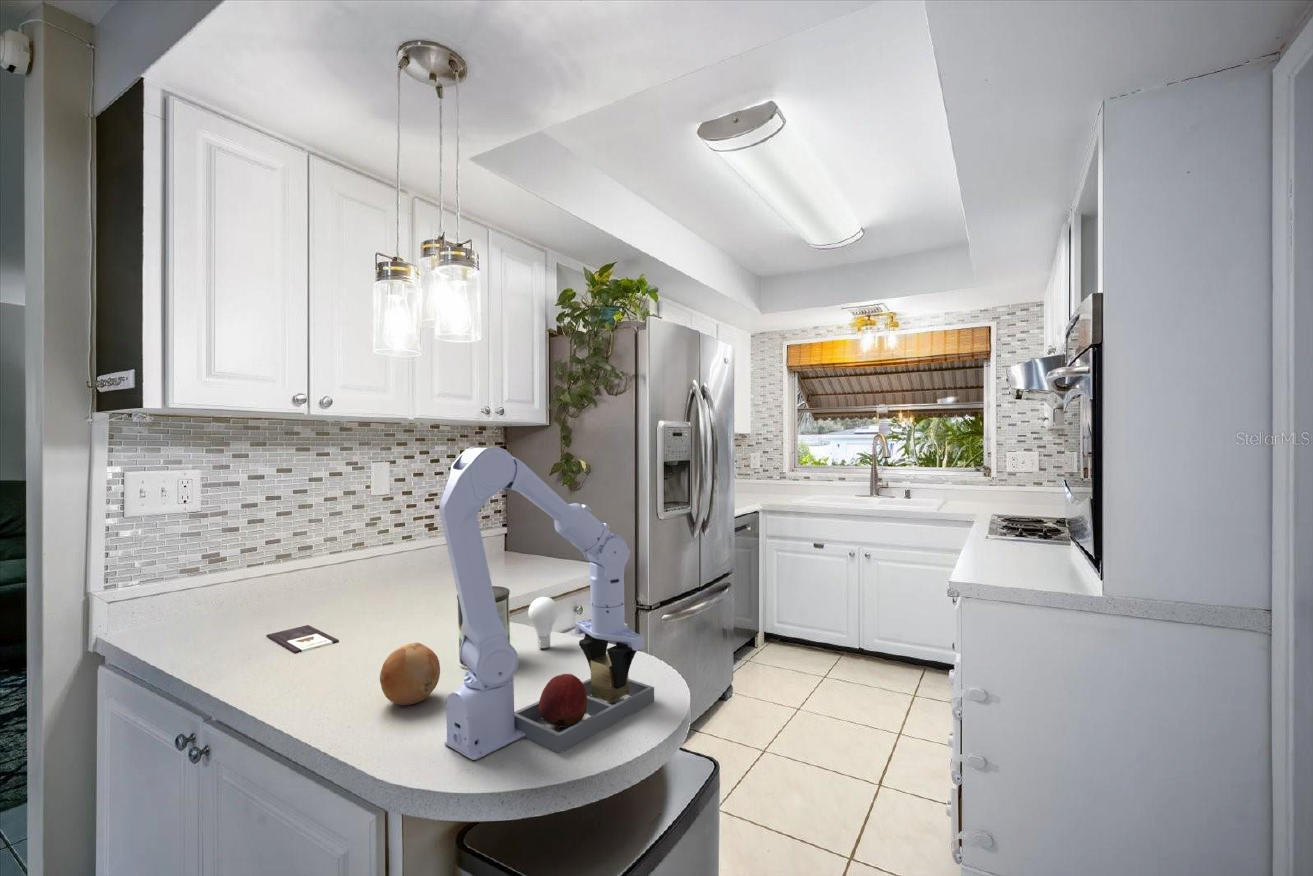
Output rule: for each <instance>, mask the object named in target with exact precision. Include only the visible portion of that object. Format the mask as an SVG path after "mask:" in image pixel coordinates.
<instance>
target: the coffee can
mask: <svg viewBox="0 0 1313 876" xmlns="http://www.w3.org/2000/svg"><path fill="white" fill-rule="evenodd" d="M492 588H493V593H494V597H495V602H496V607H497V612H498V616H499V618H500V620H501V622H502V624H503V626H504V628H505V631H506V633H507V638H508V641H509V643H510V644H511V628H510V622H511V621H510V618H511V617H510V593H511V592H510V589H509V588H508V587H505V586H501V585H499V586H498V585H497V586H496V585H492ZM456 599H457V612H458V613H457V615H458V616H457V618H458V621H457V623H458V650H459V651H458V656H459V663H458V664H459V667H461V668H462V669H463V668H464V670H467V669H468V666H467V665H466V664H464V662H463V661H462V659H461V656H460V647H461V643H462V630H461V626H462V623H463V616H462V611H461V607H460V602H459V598H458V593H457V595H456Z"/></svg>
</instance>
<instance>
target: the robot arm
mask: <svg viewBox="0 0 1313 876" xmlns="http://www.w3.org/2000/svg"><path fill="white" fill-rule="evenodd" d="M503 489H505V490H511V491H516V492H518V493H519V494H520V495H521V496H523V497H525V499H527V500H528V501H529V502H531V503H532V504H534V505H535V506H536V507H538V508H539V509H540V510H541V511H543V512H544V513H545V514H547V515H548V516H549V517H551V518H552V519H553V522H554V523H553V524H554V530H555V531H556V532H557V533H558V534H559V535H560V536H561V537H563V538H564V539H566V540H567V541H568V542H569V543H570V544H572V546H574V547H575V548H576V549H578V550H579V551H580V552H582V554H583V555H582V556H583V557H584V559H585V560H586V561H589V583H590V584H589V586H590V587H589V588H590V590H589V592H590V593H589V594H590V620H585V619H582V620H580V621H576V622H574V631H575V632H574V633H575V634H576V635H582V634H583V635H584V637H583V638H582V639H580V640H579V641H578V644H579V647H580V648H581V650H582V652H583V654H584V655H585V657H586V660H587V663H588V666H589V669H590V671H591V660H593V659H595V658H598V657H600V656H603V655H605V654H608V655H609V657H610V661H611V665H612V671H613V683H614V687H615V689H619V688H622V687H624V686H626V681H627V676H628V677H629V673H630V668H631V664H632V662H633V659H634V658H635V655H636V654H637V651H639V650H642V649H644V648H645V636H644V635H642V634H638V633H636V632H635V631H633V630H632V629H630V628H629V627H628V623H626V619H625V618H626V616H625V613H626V612H625V577H624V576H625V566H626V565H627V563H628V561H629V559H630V554H631V549H629V548H628V545H627V542H626V540H625V539H624V537H622V536H621V535H619V534H615V533H613V532H610V529H611V527H610V525H609V524H608V523H605V522H603V523H602V522H601V521H600V520H599V519H597V517H595V516H594V515H593V514H592V513H591V511H592V509H591V508H590V507H589V505H587V504H580V503H577V502H575V503H567V502H566V501H565V500H564V499H563V498H562V497H561V496H560V495H559V494H557V493H556V492H555V491H554V490H553V489H552V488H551V487H550V486H549V485H548V484H547V483H545V481H543V480H542V479H541V478H540V477H539V476H538V475H537V474H536V473H535V472H534V471H532V470H531V468H530V467H528V466H527V465H526V464H525V463H524V462H523V461H522V460H520V459H519V458H516V457H513V455H512V454H511V453H510V452H508V451H507V450H506V449H505V448H502V447H499V446H498V447H497V446H489V447H482V446H472V447H469V448H466V449H465V450H464V451H463V452H462V453H461V454H460V455H459V456H458V457H457V458H456V460H454V462H453V463H452V464H451V466H450V471H449V477H448V480H447V483H446V485H445V488H444V491H443V493H442V496H441V499H440V501H439V502H440V503H439V506H438V507H439V514H440V519H441V523H442V529H443V533H444V537H445V542H446V547H447V550H448V551H447V552H448V556H449V561H450V564H451V570H452V574H453V579H454V583H455V587H456V591H457V594H458V598H459V602H460V607H461V611H462V616H463V623H462V626H461V630H462V643H461V647H460V656H461V659H462V661H463V662H464V664H466V665H467V666H468V669H466V672H465V674H464V678H463V683H462V685H461V686H459V687H458V688H457V689H456V690H454V691H452V692H451V693H450V694H448V697H447V700H446V702H445V703H446V704H445V705H446V706H445V709H446V714H445V715H446V739H445V740H444V742H443V743H444V745H446V746H447V747H449V748H451V749H452V750H454V751H456V752H457V753H459V754H461V755H463V756H465V757H467V758H469V760H472V761H476V760H478V759H481V758H483V757H485V756H486V755H489V754H491V753H493V752H495V751H497V750H499V749H501V748H502V747H505V746H508V745H509V744H511V743H513V742H515V741H517V740H519V739H521V738H525V737H524V736H525V733H524V732H522V731H520V730H518V729H516V728H515V718H514V712H515V689H514V688H515V684H514V682H515V681H514V675H515V674H516V672H517V670H518V667H519V654H518V652H517V650H516V649H515V647H514V646H512V644H511V642H510V643H509V641H508V638H507V633H506V631H505V628H504V626H503V624H502V622H501V620H500V618H499V616H498V612H497V607H496V602H495V597H494V593H493V588H492V586H493V585H492V579H491V575H490V570H489V564H488V562H487V555H486V551H485V547H484V541H483V538H482V537H483V536H482V533H481V527H480V523H479V518H478V514H479V513H480V512H481V510H482V509H483V507H484V506H485V505H486V503H487V502H488V500H490V498H491V497H493V496H494V495H496V494H497V493H499V492H500V491H502V490H503ZM609 642H611V643H614V644H615V645H613V646H610V647H609V648H608V646H609V645H608V644H609Z"/></svg>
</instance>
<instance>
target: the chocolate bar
mask: <svg viewBox="0 0 1313 876" xmlns="http://www.w3.org/2000/svg"><path fill="white" fill-rule="evenodd" d="M265 636H266V638H267V637H268V638H267V639H269V640H270V641H272V642H274V643H276V644H277V645H279V646H280V647H282V648H284V647H285V648H284V649H286V650H288V651H289V650H290V652H291V653H293V654H294V653H295V654H294V655H296V654H300V653H303V652H302V651H304V652H307V651H306V650H308V651H312V650H314V649H319V648H322V647H327V646H331V645H335V644H338V643H339V642H340V640H339V639H338V638H336V637H334V636H331V635H330V634H327V633H325V632H324V631H322V630H319V629H318V628H315V627H313V626H311V625H309V624H308V625H301V626H299V627H294V628H290V629H286V630H281V631H277V632H273V633H269V634H266V635H265ZM299 652H300V653H299Z"/></svg>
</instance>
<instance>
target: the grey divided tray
mask: <svg viewBox="0 0 1313 876" xmlns="http://www.w3.org/2000/svg"><path fill="white" fill-rule="evenodd" d="M581 682H582V683H583V684H584V686H585V689H586V693H587V708H586V712H585V714H588V715H591V716H590V717H587V718H585V719H582V720H581V721H580V722H579V723H577V724H575V725H573V726H571V727H567V728H565V729H564V730H562V731H560V732H559V731H556V730H555V729H552V728H549V727H547V726H545V725H543V724H541V723H538V722H536V721H537V720H540V719H542V718H541V716H540V712H539V701H540V700H539V701H536V702H534V703H532V704H529V705H527V706H524V707H523V708H521V709H518V710H516V711H514V718H515V728H516V729H518V730H520V731H522V732H524V733H525V736H524V737H523V738H526V739H529V740H531V741H533V742H535V743H536V744H538V745H541V746H543V747H545V748H547V749H549V750H551V751H552V752H555V753H556V754H561V753H563V752H565V751H567V750H569V749H570V748H572V747H574V746H575V745H577V744H579V743H581V742H583V741H585V740H587V739H588V737H589V738H591V737H592V736H593V735H594V736H595V735H596V734H598V733H600V732H602V731H603V730H605V729H607V728H608V727H611V726H613V725H614V724H616V723H618V722H619V721H621V720H623V719H625V718H627V717H629V716H631V715H633V714H635V713H637V712H638V711H640V710H642V709H644V708H646V707H647V706H650V705H651V704H653V703H655V686H651V685H649V684H645V683H642V682H640V681H637V680H634V679H630V678H629V694H627V695H626V696H629V697H627V698H624V699H623V700H621V701H619V702H617V703H615V704H612V703H609V702H606V701H604V700H601V699H598V698H596V697H593V696H591V677H590V678H588V679H586V680H583V681H581ZM597 732H598V733H597ZM586 738H587V739H586ZM571 746H572V747H571ZM562 751H563V752H562Z"/></svg>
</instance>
